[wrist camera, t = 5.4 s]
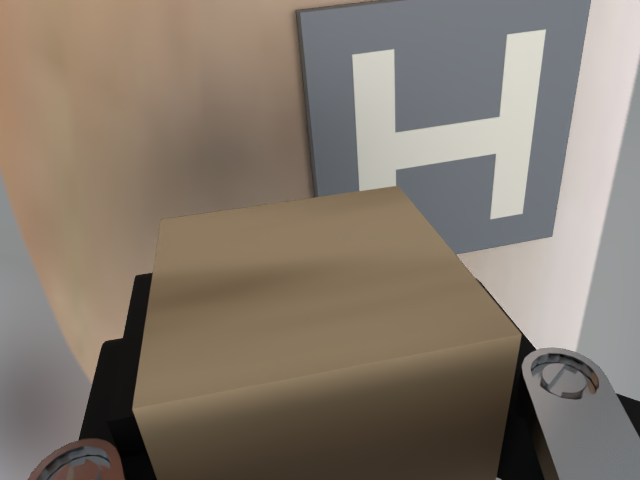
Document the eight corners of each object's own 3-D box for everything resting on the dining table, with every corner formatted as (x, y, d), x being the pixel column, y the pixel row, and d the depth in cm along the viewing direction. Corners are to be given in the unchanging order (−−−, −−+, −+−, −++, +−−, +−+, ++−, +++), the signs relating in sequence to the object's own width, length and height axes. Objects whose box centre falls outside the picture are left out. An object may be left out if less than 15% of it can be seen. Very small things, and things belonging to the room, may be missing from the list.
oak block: (395, 358, 14) (483, 546, 9) (204, 395, 13) (205, 616, 9) (397, 185, 11) (521, 334, 7) (161, 219, 10) (131, 408, 6)
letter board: (541, 227, 32) (552, 237, 31) (322, 267, 30) (326, 278, 29) (578, -24, 25) (595, -22, 24) (295, 10, 23) (300, 12, 22)
